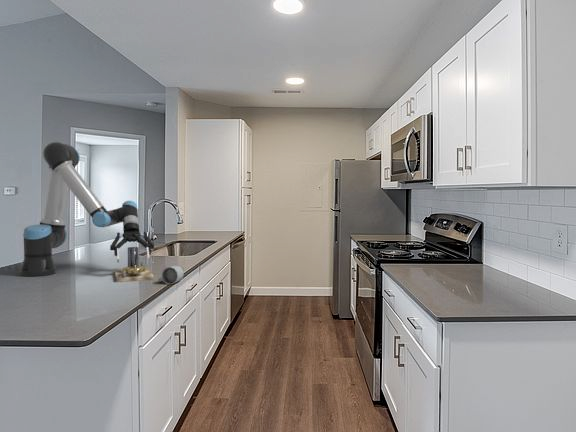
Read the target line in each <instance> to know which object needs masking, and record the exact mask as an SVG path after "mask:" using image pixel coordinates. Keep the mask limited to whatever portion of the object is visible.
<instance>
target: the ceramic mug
mask: <svg viewBox="0 0 576 432" xmlns="http://www.w3.org/2000/svg"><path fill="white" fill-rule="evenodd" d="M183 278H184V270H183V268H182V267H181V266H178V265H172V266H167V267H165V268H164V269H162V272H161V277H159V278H158V279H157V280H158V283H161V282H163V283H165V284H166V285H174V284H176V283H178V282H180V281H181V280H182V279H183Z"/></svg>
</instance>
